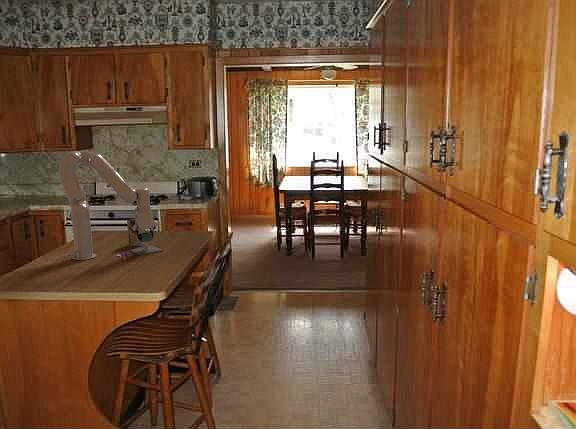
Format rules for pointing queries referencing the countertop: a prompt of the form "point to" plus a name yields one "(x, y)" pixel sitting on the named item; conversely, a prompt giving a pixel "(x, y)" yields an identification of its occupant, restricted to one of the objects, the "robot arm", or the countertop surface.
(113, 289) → the countertop surface
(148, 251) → the post fixture
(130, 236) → the coffee box
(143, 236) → the ring
